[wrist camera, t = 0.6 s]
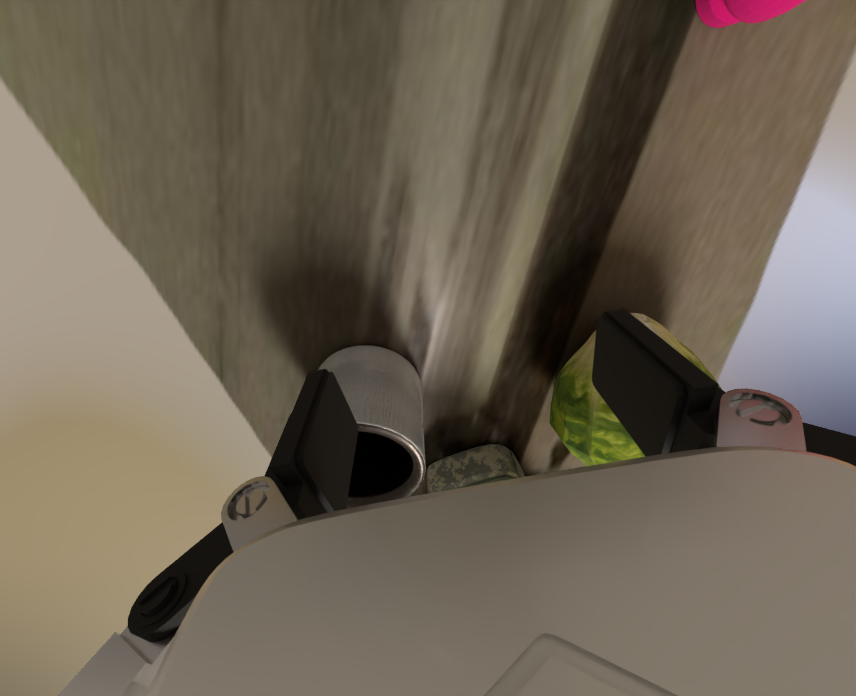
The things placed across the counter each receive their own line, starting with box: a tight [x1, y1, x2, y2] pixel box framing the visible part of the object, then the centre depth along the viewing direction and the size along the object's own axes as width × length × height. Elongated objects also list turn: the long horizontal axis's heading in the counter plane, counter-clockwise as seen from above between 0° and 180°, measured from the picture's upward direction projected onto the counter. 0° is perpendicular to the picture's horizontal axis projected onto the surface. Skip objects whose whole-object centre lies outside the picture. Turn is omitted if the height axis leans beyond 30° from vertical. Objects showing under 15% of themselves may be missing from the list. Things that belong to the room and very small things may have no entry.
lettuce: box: [550, 313, 721, 466], centre depth 43 cm, size 19×23×18 cm
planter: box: [318, 345, 426, 509], centre depth 43 cm, size 16×16×16 cm
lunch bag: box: [427, 444, 525, 494], centre depth 56 cm, size 26×18×22 cm
